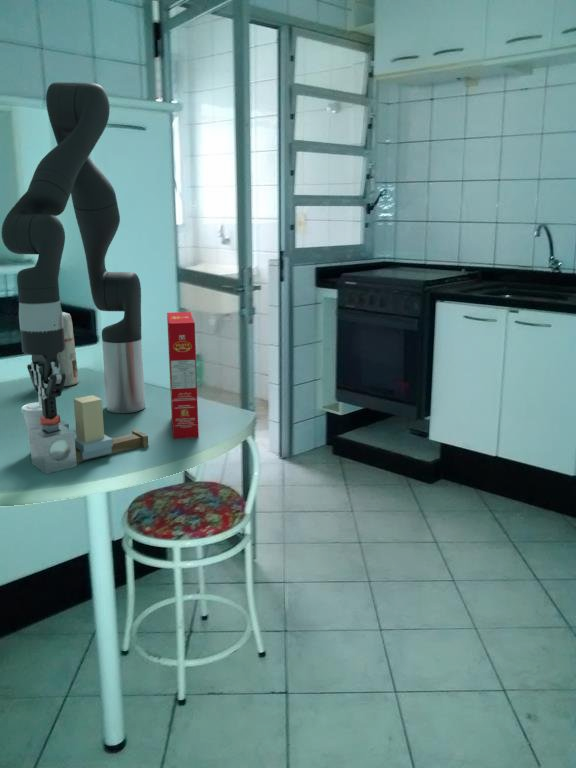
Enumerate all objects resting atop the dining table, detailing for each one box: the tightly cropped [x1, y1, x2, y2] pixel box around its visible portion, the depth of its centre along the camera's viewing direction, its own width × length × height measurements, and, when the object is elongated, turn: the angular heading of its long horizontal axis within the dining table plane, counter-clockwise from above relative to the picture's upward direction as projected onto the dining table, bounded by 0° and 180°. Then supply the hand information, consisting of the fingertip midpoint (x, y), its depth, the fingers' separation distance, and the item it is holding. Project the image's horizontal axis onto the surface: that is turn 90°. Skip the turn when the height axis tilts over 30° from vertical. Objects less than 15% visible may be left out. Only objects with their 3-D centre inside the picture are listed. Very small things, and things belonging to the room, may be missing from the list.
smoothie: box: [21, 392, 43, 440], centre depth 138 cm, size 6×6×14 cm
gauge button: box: [40, 413, 61, 434], centre depth 131 cm, size 4×4×7 cm
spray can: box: [57, 311, 79, 387], centre depth 190 cm, size 8×8×20 cm
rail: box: [75, 429, 149, 463], centre depth 139 cm, size 5×16×2 cm, turn 130°
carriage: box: [60, 394, 113, 461], centre depth 138 cm, size 15×7×11 cm, turn 40°
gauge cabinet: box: [28, 423, 78, 475], centre depth 132 cm, size 7×6×7 cm
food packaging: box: [166, 311, 200, 440], centre depth 152 cm, size 15×5×25 cm, turn 11°
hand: (49, 416), depth 130 cm, fingers closed
